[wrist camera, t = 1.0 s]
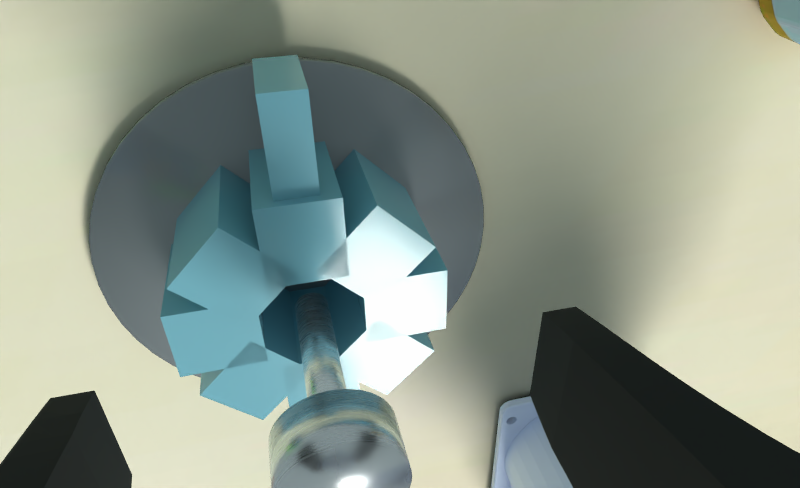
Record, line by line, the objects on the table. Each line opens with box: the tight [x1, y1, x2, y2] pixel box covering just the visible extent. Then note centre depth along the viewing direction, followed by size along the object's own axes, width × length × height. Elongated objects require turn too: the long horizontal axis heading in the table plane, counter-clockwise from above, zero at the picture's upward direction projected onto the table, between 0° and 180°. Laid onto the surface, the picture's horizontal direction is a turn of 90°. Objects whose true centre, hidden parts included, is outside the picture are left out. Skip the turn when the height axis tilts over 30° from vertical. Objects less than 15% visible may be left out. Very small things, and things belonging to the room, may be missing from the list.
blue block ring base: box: [89, 55, 484, 420], centre depth 18 cm, size 13×13×4 cm
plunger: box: [269, 293, 412, 488], centre depth 15 cm, size 3×3×6 cm
